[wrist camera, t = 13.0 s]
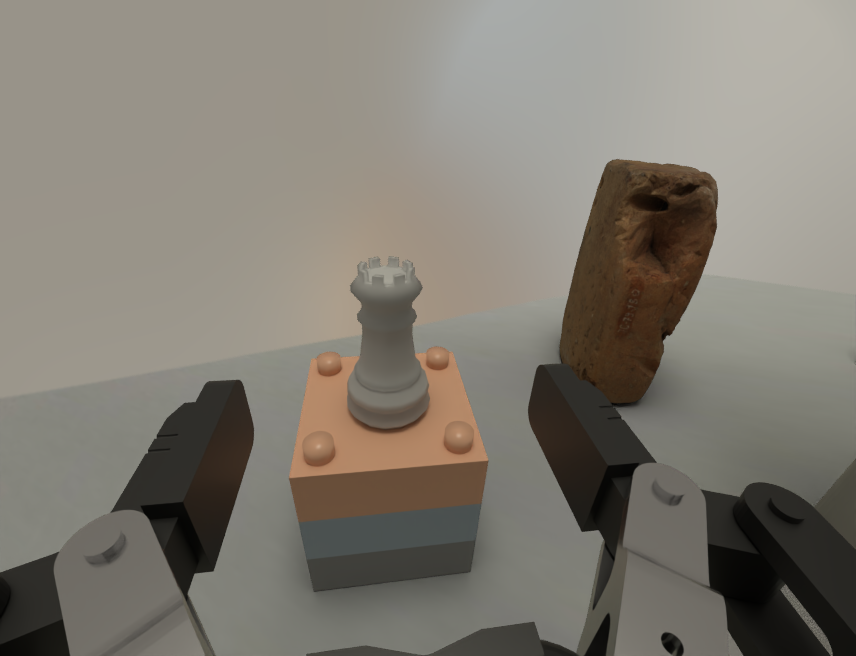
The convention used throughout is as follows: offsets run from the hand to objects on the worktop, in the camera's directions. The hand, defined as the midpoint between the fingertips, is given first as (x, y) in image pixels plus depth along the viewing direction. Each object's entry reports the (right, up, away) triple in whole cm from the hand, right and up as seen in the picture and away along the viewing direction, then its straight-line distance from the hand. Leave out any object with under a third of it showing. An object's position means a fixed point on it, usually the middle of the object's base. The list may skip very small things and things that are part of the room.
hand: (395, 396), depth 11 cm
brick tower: (-2, -10, +16) cm, 19 cm away
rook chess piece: (-1, -2, +11) cm, 11 cm away
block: (+18, -3, +30) cm, 35 cm away
